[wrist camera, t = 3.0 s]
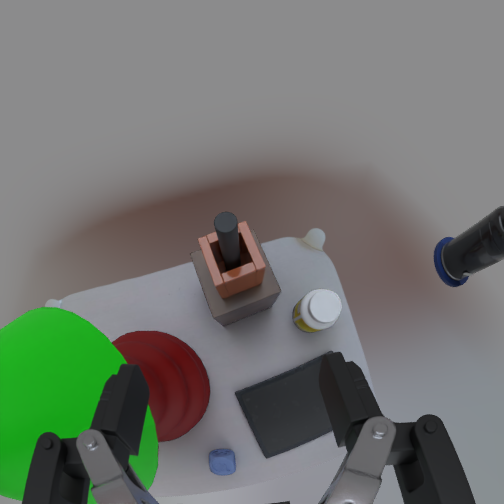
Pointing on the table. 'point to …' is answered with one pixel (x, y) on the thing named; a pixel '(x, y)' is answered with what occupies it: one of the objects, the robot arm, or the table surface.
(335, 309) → the pill bottle
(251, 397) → the tablet
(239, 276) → the pen cup
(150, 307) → the table surface
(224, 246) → the stylus
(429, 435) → the robot arm
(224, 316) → the stand
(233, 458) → the decorative dice
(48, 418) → the table lamp
